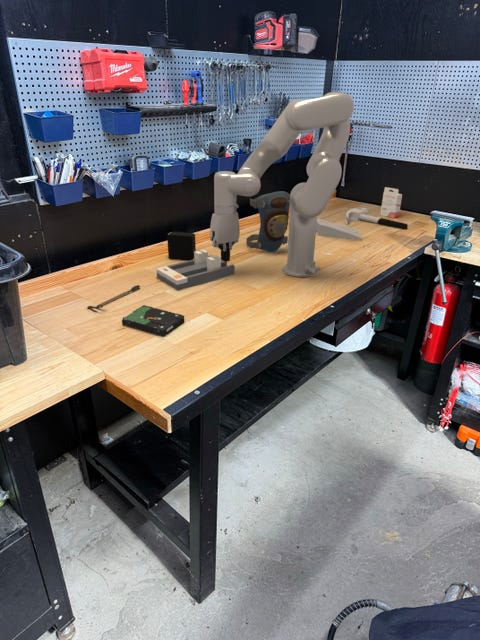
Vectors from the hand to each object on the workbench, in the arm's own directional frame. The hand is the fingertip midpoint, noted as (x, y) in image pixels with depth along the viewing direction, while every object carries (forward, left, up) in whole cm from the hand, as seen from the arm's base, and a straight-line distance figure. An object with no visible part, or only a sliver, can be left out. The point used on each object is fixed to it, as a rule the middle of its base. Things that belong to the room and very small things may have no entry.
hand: (225, 260), depth 164 cm
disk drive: (-19, +40, -6) cm, 45 cm away
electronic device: (+23, +4, -5) cm, 24 cm away
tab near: (0, +5, -3) cm, 6 cm away
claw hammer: (+8, -99, -6) cm, 100 cm away
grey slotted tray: (+4, +10, -5) cm, 12 cm away
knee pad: (+12, -31, -5) cm, 33 cm away
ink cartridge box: (+14, -119, -5) cm, 120 cm away
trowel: (+9, -70, -6) cm, 71 cm away
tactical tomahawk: (+2, +41, -6) cm, 41 cm away
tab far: (+8, +5, -3) cm, 10 cm away
